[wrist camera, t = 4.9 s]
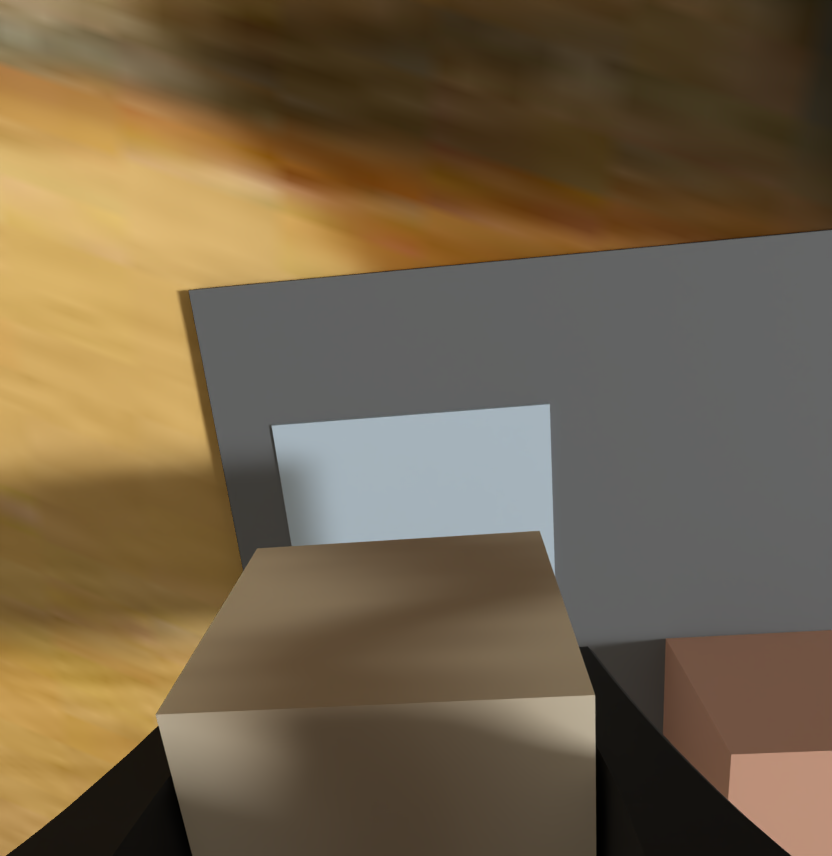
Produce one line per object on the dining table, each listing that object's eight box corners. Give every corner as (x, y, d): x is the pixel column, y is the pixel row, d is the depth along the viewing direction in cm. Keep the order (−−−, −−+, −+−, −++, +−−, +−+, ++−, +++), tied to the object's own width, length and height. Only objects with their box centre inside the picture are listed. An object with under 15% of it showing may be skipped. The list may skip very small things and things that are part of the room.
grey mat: (1057, 208, 14) (1080, 207, 13) (946, 772, 18) (960, 786, 18) (195, 289, 15) (187, 290, 15) (292, 795, 20) (288, 809, 19)
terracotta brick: (853, 628, 16) (977, 745, 13) (834, 774, 18) (941, 918, 14) (665, 638, 17) (731, 754, 13) (661, 780, 18) (719, 922, 14)
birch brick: (539, 530, 10) (595, 695, 7) (547, 761, 12) (597, 1005, 8) (257, 548, 11) (155, 714, 7) (298, 770, 12) (232, 1008, 8)
